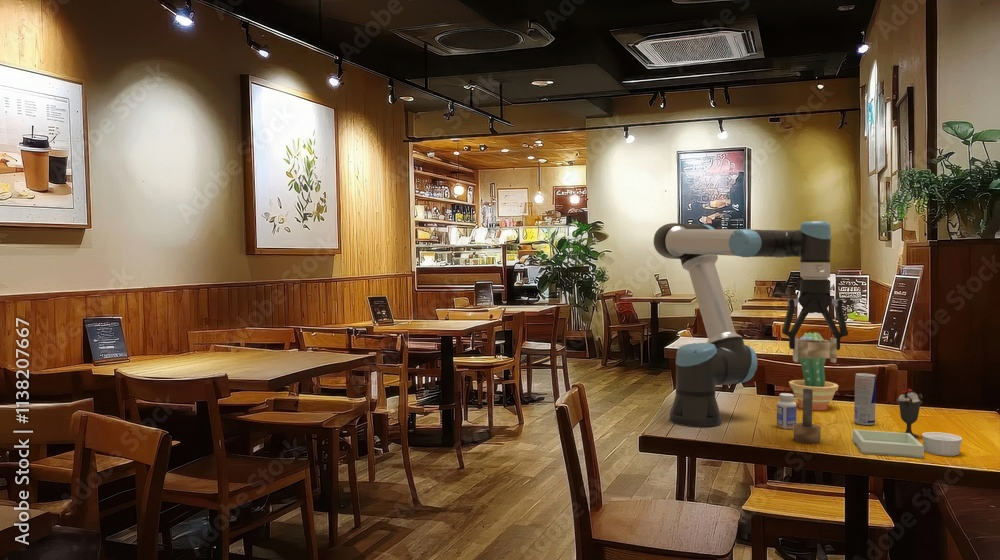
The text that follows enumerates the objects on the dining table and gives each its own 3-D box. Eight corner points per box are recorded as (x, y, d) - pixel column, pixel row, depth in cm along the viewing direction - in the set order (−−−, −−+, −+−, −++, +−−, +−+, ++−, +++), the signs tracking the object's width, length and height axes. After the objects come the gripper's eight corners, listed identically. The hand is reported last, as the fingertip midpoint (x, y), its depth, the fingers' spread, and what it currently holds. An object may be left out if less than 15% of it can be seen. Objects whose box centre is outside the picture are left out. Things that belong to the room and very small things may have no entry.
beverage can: (877, 426, 217) (878, 376, 216) (857, 425, 218) (858, 375, 217) (871, 422, 222) (872, 373, 222) (852, 421, 223) (853, 372, 223)
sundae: (891, 436, 205) (893, 383, 205) (899, 432, 210) (901, 380, 209) (918, 440, 200) (919, 386, 200) (925, 436, 205) (926, 383, 205)
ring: (800, 357, 194) (800, 342, 194) (793, 353, 203) (793, 339, 203) (836, 358, 193) (836, 343, 193) (827, 354, 202) (827, 339, 202)
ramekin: (952, 459, 182) (952, 442, 182) (915, 451, 190) (915, 434, 189) (967, 453, 188) (968, 437, 187) (931, 446, 195) (931, 430, 195)
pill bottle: (797, 426, 216) (798, 393, 216) (794, 430, 211) (795, 396, 211) (778, 424, 219) (778, 392, 219) (775, 427, 214) (775, 394, 214)
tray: (862, 453, 187) (862, 441, 187) (852, 440, 200) (852, 429, 200) (923, 458, 183) (923, 446, 183) (909, 444, 196) (909, 433, 196)
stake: (794, 442, 197) (795, 391, 197) (792, 436, 204) (793, 386, 203) (822, 444, 195) (823, 392, 195) (818, 438, 202) (819, 388, 201)
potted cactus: (781, 402, 252) (782, 330, 251) (827, 403, 251) (828, 330, 250) (797, 412, 236) (799, 335, 235) (846, 412, 236) (848, 335, 235)
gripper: (775, 278, 196) (775, 362, 196) (862, 279, 192) (861, 364, 193) (770, 278, 203) (769, 359, 204) (853, 278, 199) (852, 360, 200)
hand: (814, 361), depth 198 cm, fingers closed on ring, 9 cm apart
